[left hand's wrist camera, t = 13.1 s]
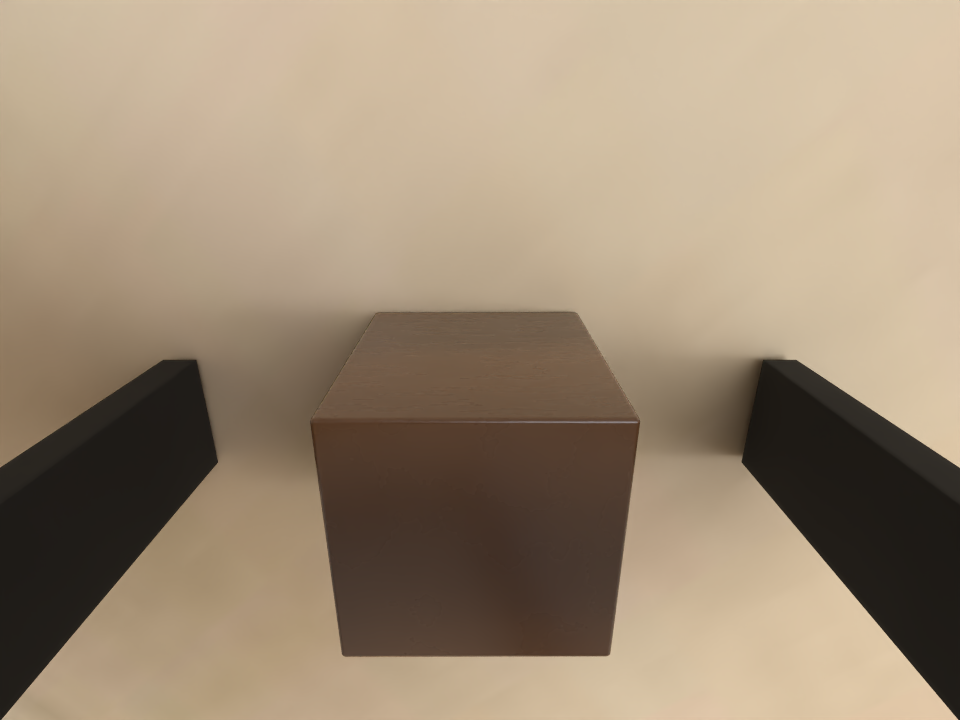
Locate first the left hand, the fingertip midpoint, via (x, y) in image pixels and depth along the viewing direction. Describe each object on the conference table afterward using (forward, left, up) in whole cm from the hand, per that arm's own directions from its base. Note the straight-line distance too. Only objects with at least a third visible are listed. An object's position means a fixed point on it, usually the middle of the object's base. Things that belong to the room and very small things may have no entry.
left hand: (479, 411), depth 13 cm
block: (0, 0, 0) cm, 0 cm away
